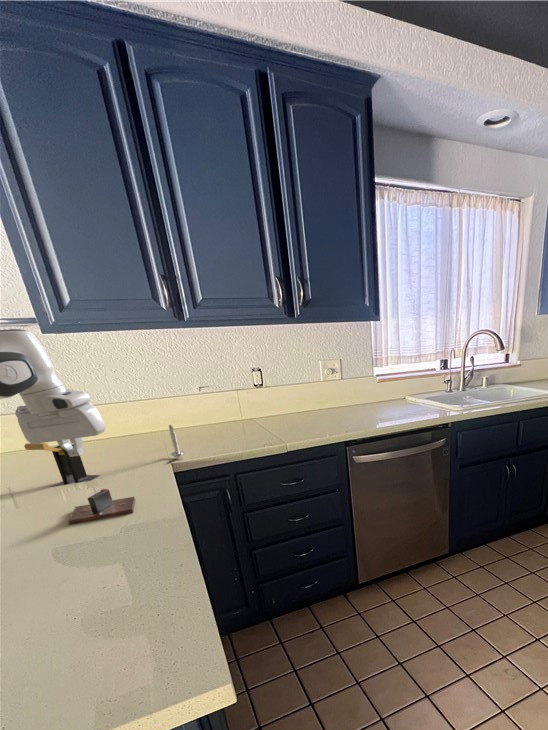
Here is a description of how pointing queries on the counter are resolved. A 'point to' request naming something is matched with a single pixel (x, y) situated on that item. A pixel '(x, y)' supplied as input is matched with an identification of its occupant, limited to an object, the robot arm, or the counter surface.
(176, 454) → the screw
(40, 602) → the counter surface
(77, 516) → the lock plate
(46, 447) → the lever
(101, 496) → the lock knob
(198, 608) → the counter surface
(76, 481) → the handle bracket
